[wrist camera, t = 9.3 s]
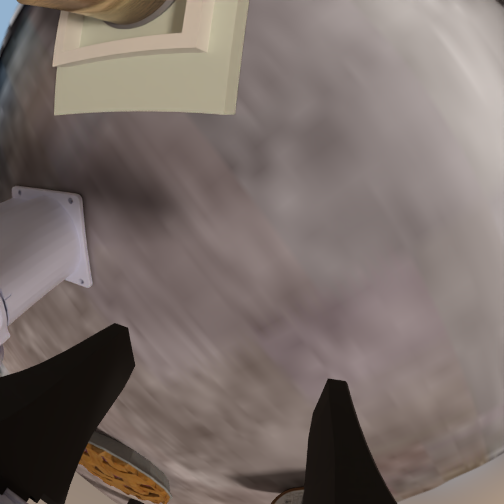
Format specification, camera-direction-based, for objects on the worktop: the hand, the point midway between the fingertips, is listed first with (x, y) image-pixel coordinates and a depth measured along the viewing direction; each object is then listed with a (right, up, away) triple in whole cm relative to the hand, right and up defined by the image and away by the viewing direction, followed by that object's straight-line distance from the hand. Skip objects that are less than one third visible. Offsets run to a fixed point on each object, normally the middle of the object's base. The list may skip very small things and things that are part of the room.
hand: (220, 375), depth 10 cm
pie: (-22, -33, +33) cm, 51 cm away
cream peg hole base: (-6, +20, +3) cm, 21 cm away
